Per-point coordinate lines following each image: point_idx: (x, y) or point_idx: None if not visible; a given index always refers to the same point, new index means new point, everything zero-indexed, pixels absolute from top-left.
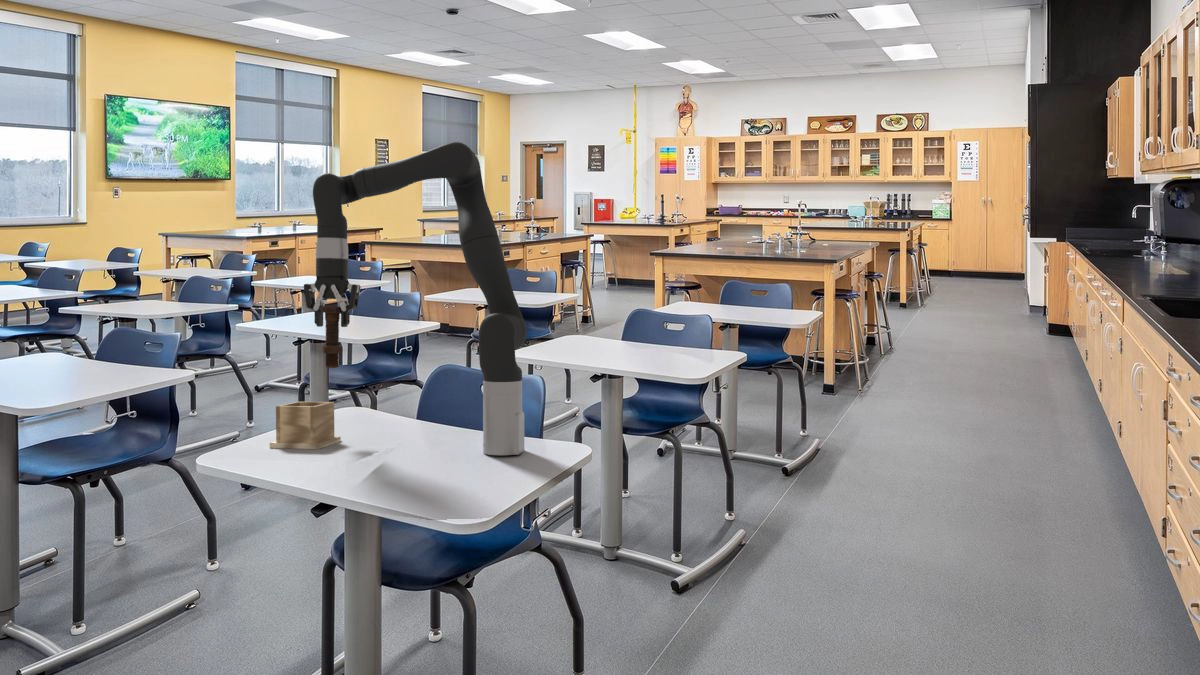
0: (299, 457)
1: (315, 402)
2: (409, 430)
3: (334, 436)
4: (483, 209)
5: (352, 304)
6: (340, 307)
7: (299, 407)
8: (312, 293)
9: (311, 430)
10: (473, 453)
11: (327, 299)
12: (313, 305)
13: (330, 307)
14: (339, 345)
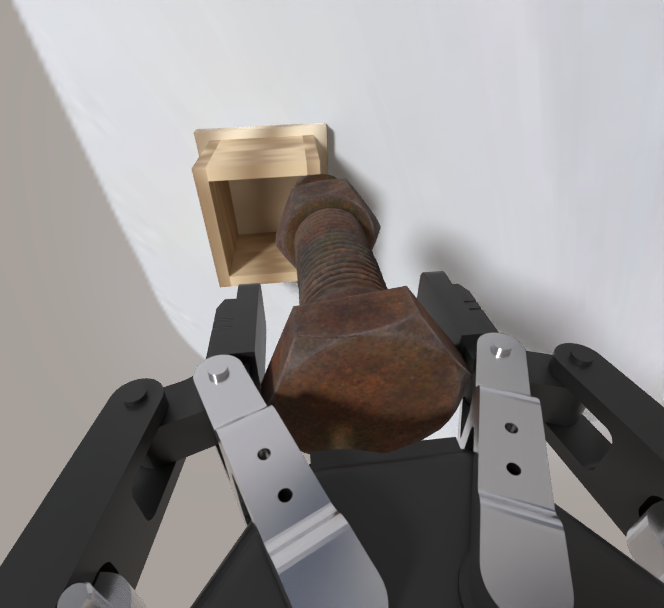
0: None
1: (263, 177)
2: None
3: (310, 129)
4: None
5: (572, 430)
6: (451, 407)
7: (285, 280)
8: (105, 557)
9: None
10: (637, 221)
11: (286, 430)
12: (197, 446)
13: (386, 448)
14: (366, 230)
